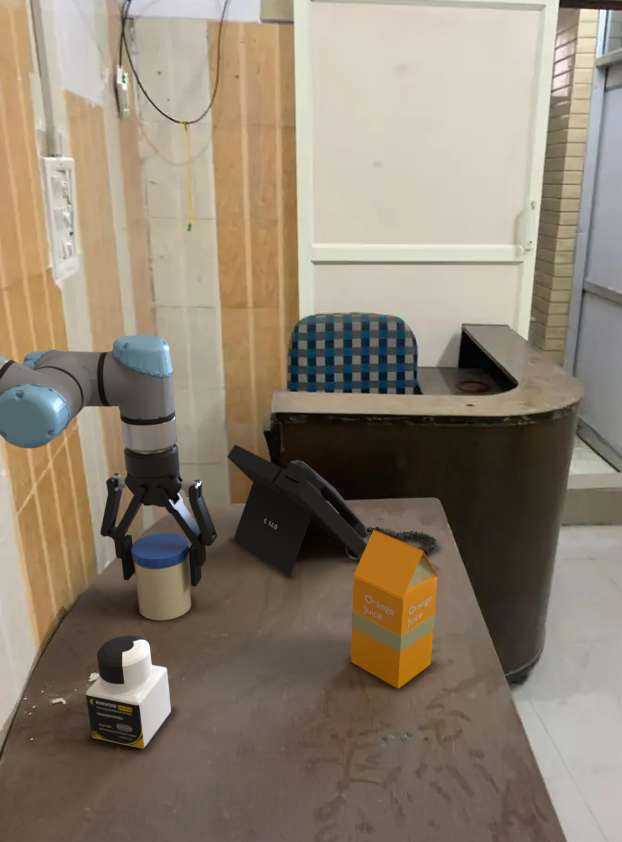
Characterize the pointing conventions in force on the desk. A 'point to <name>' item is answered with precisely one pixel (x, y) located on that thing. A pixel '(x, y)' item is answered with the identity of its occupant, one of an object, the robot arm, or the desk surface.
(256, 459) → the office phone
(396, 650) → the orange juice
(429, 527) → the desk surface
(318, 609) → the desk surface
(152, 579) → the jar
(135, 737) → the medicine bottle
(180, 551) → the jar lid
